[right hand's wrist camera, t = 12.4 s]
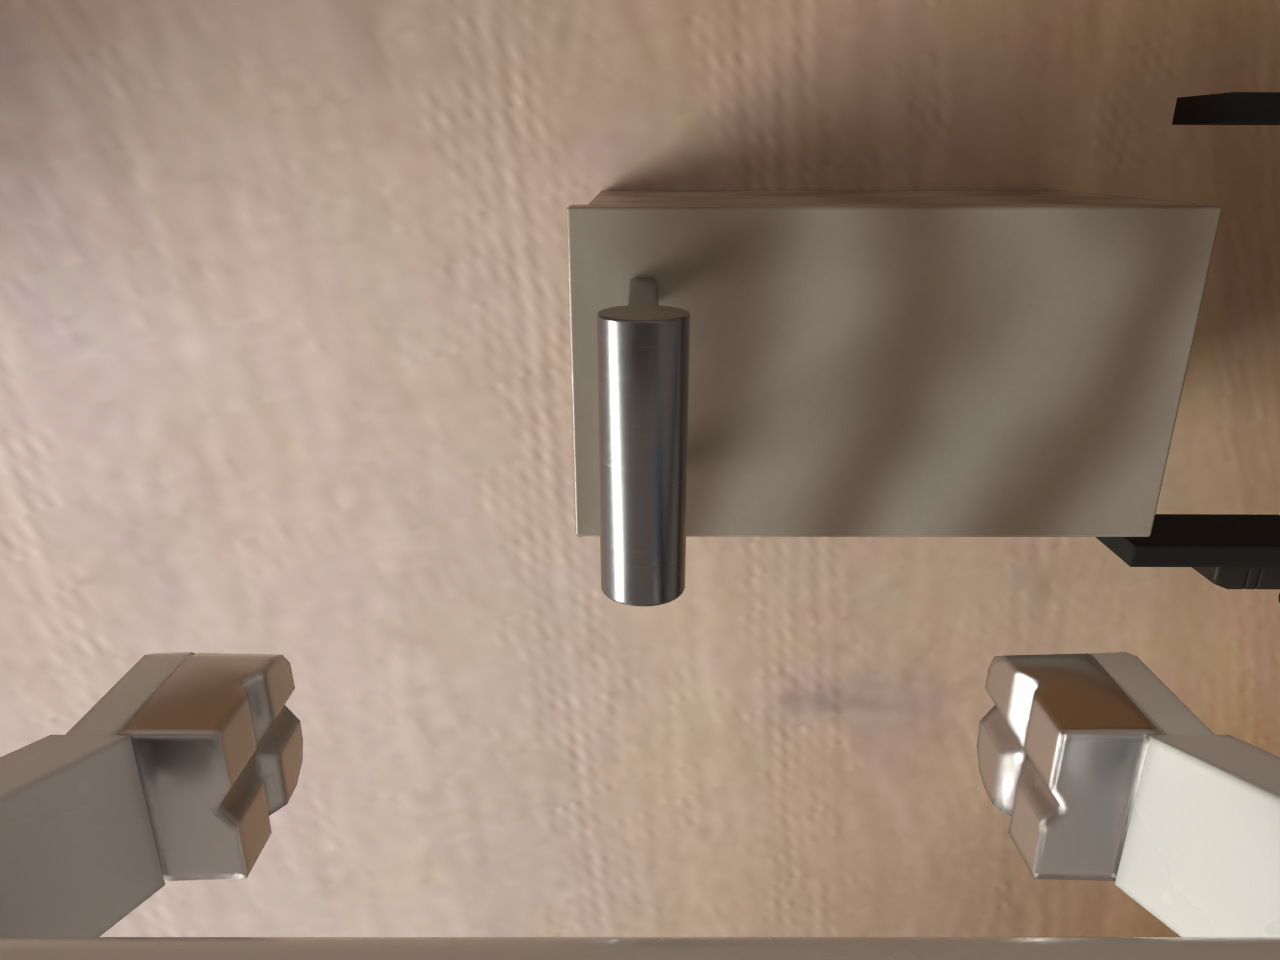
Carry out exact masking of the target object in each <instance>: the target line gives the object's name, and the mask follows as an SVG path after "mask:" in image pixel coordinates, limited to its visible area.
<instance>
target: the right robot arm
mask: <svg viewBox="0 0 1280 960" xmlns="http://www.w3.org/2000/svg"><path fill="white" fill-rule="evenodd" d="M294 689H295V686H294V681H293V676H292V671H291V666H290V663H289V661H288V660H287V659H286V658H285V657H284V656H283V655H268V654H217V653H198V654H195V653H192V652H190V653H154V654H149V655H144V656H143V657H142V658H141V659H140V660H139V661H138V662H137V663H136V664H135V665H134V666H133V667H132V668H131V669H130V670H129V671H128V672H127V673H126V674H125V675H124V676H123V677H122V678H121V679H120V680H119V681H118V682H117V683H116V684H115V685H114V686H113V687H112V688H111V689H110V690H109V691H108V692H107V693H106V694H105V695H104V696H103V697H102V698H101V699H100V700H99V701H98V702H97V703H96V704H95V705H94V706H93V707H92V708H91V709H90V710H89V711H88V712H87V713H86V714H85V716H84V717H83V718H82V719H81V720H80V721H79V722H78V723H77V724H76V725H75V726H74V727H73V728H72V729H71V730H70V731H69V732H68V733H67V734H66V735H50V736H47V737H45V738H43V739H41V740H38V741H36V742H34V743H32V744H29V745H27V746H25V747H23V748H20V749H18V750H16V751H14V752H12V753H9V754H7V755H5V756H3V757H0V960H1280V757H1277V756H1275V755H1273V754H1271V753H1268V752H1266V751H1264V750H1262V749H1259V748H1257V747H1255V746H1253V745H1251V744H1248V743H1246V742H1244V741H1242V740H1239V739H1237V738H1235V737H1233V736H1230V735H1215V734H1214V733H1213V732H1212V731H1211V730H1210V729H1209V728H1208V727H1207V726H1206V725H1205V724H1204V723H1203V722H1202V721H1201V720H1200V719H1199V718H1198V717H1197V716H1196V715H1195V714H1194V713H1193V712H1192V711H1191V710H1190V709H1189V708H1188V707H1187V706H1186V705H1185V704H1184V703H1183V702H1182V701H1181V700H1180V699H1179V698H1178V697H1177V696H1176V695H1175V694H1174V693H1173V692H1172V691H1171V690H1170V689H1169V688H1168V687H1167V686H1166V685H1165V684H1164V683H1163V682H1162V681H1161V680H1160V679H1159V678H1158V677H1157V676H1156V675H1155V674H1154V673H1153V672H1152V671H1151V670H1150V669H1149V668H1148V667H1147V666H1146V665H1145V664H1144V663H1143V662H1142V661H1141V660H1140V659H1139V658H1138V657H1137V656H1134V655H1132V654H1129V653H1126V652H1116V653H1091V654H1055V655H1015V656H994V658H993V660H992V662H991V664H990V667H989V669H988V674H987V680H986V686H985V689H986V690H987V692H988V693H989V695H990V697H991V698H992V700H993V701H994V703H995V706H994V707H993V708H992V709H991V710H990V711H989V712H988V713H987V714H986V715H985V716H984V717H983V718H982V719H981V720H980V724H979V732H978V741H977V753H978V763H979V771H980V775H981V778H982V781H983V784H984V788H985V790H986V792H987V793H988V795H989V797H990V799H991V801H992V803H993V804H994V805H995V806H997V807H998V808H1000V809H1001V810H1003V811H1005V812H1006V813H1008V814H1009V815H1011V821H1010V826H1009V832H1008V833H1009V835H1010V836H1011V838H1012V840H1013V842H1014V844H1015V846H1016V847H1017V849H1018V851H1019V853H1020V855H1021V856H1022V858H1023V860H1024V862H1025V864H1026V865H1027V867H1028V869H1029V871H1030V873H1031V875H1032V876H1033V878H1034V879H1066V880H1103V881H1115V885H1116V886H1117V887H1119V888H1120V889H1121V890H1122V891H1124V892H1125V893H1126V894H1127V895H1129V896H1130V897H1131V898H1133V899H1134V900H1135V901H1136V902H1138V903H1139V904H1140V905H1141V906H1143V907H1144V908H1145V909H1146V910H1148V911H1149V912H1150V913H1152V914H1153V915H1154V916H1155V917H1157V918H1158V919H1159V920H1160V921H1162V922H1163V923H1164V924H1166V925H1167V926H1168V927H1169V928H1171V929H1172V930H1173V931H1174V932H1176V933H1177V934H1178V935H1179V936H1181V937H100V936H101V935H102V934H103V933H105V932H106V931H107V930H108V929H110V928H111V927H112V926H114V925H115V924H116V923H117V922H119V921H120V920H121V919H122V918H124V917H125V916H126V915H127V914H129V913H130V912H131V911H133V910H134V909H135V908H136V907H138V906H139V905H140V904H141V903H143V902H144V901H145V900H147V899H148V898H149V897H150V896H152V895H153V894H154V893H155V892H157V891H158V890H159V889H161V888H162V887H163V886H164V885H165V881H177V880H212V879H246V878H247V877H248V875H249V873H250V871H251V869H252V867H253V866H254V864H255V862H256V860H257V858H258V857H259V855H260V853H261V851H262V849H263V847H264V846H265V844H266V842H267V840H268V838H269V836H270V835H271V833H272V832H271V826H270V820H269V815H271V814H272V813H274V812H276V811H277V810H279V809H280V808H282V807H283V806H285V805H286V804H287V803H288V801H289V799H290V797H291V795H292V793H293V791H294V789H295V787H296V785H297V781H298V777H299V773H300V769H301V764H302V757H303V737H302V731H301V724H300V720H299V719H298V718H297V717H296V716H295V715H294V714H293V713H292V712H291V711H290V710H289V709H288V708H287V707H286V706H285V703H286V701H287V700H288V698H289V697H290V695H291V693H292V692H293V690H294Z"/></svg>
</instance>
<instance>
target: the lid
mask: <svg viewBox="0 0 1280 960" xmlns="http://www.w3.org/2000/svg"><path fill="white" fill-rule="evenodd" d="M1221 211H1222V210H1221V208H1220V207H1218V206H1209V205H571V206H569V207H568V208H567V210H566V212H567V248H568V284H569V319H570V355H571V390H572V426H573V462H574V497H575V533H576V535H577V536H600V541H601V588H602V591H603V592H604V594H605V595H606V596H607V597H609V598H610V599H612V600H614V601H616V602H619V603H622V604H626V605H632V606H655V605H660V604H665V603H668V602H670V601H673V600H675V599H676V598H678V597H679V596H680V595H681V594H682V593H683V591H684V588H685V554H686V536H795V537H1149V536H1150V535H1151V531H1152V526H1153V522H1154V517H1155V513H1156V508H1157V504H1158V499H1159V494H1160V490H1161V485H1162V481H1163V476H1164V471H1165V467H1166V462H1167V458H1168V453H1169V449H1170V444H1171V439H1172V435H1173V430H1174V426H1175V421H1176V417H1177V412H1178V407H1179V403H1180V398H1181V394H1182V389H1183V385H1184V380H1185V375H1186V371H1187V366H1188V362H1189V357H1190V353H1191V348H1192V343H1193V339H1194V334H1195V330H1196V325H1197V321H1198V316H1199V311H1200V307H1201V302H1202V298H1203V293H1204V289H1205V284H1206V279H1207V275H1208V270H1209V266H1210V261H1211V257H1212V252H1213V247H1214V243H1215V238H1216V234H1217V229H1218V225H1219V220H1220V215H1221Z"/></svg>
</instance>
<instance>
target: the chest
mask: <svg viewBox="0 0 1280 960" xmlns="http://www.w3.org/2000/svg"><path fill="white" fill-rule="evenodd" d="M588 205H1196V204H1189V203H1178V202H1168V201H1158V200H1148V199H1138V198H1127V197H1117V196H1107V195H1097V194H1086V193H1076V192H1065V191H601V192H600V193H599V194H598V195H597V196H596V197H595V198H594V199H593V200H592V201H591V202H590V203H589V204H588Z"/></svg>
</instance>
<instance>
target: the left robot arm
mask: <svg viewBox="0 0 1280 960" xmlns="http://www.w3.org/2000/svg"><path fill="white" fill-rule="evenodd" d="M1172 125H1280V93H1265V92H1232V93H1222V94H1212V95H1202V96H1191V97H1181V98H1177V102H1176V107H1175V112H1174V117H1173V122H1172ZM1096 538H1097V539H1099V540H1100V541H1101V542H1102V543H1103V544H1104V545H1106V546H1107V547H1108V548H1109V549H1110V550H1112V551H1113V552H1114V553H1115V554H1116V555H1117V556H1119V557H1120V558H1121V559H1122V560H1123V561H1124V562H1126V563H1127V564H1128V565H1129V566H1130V567H1192V568H1194V569H1195V570H1196V571H1198V572H1199V573H1200V574H1202V575H1203V576H1204V577H1206V578H1207V579H1208V580H1210V581H1211V582H1212V583H1214V584H1216V585H1218V586H1221V587H1223V588H1226V589H1243V588H1244V589H1255V588H1256V589H1280V516H1279V515H1191V514H1155V517H1154V522H1153V526H1152V531H1151V535H1150V536H1149V537H1096ZM1279 602H1280V594H1279Z"/></svg>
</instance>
